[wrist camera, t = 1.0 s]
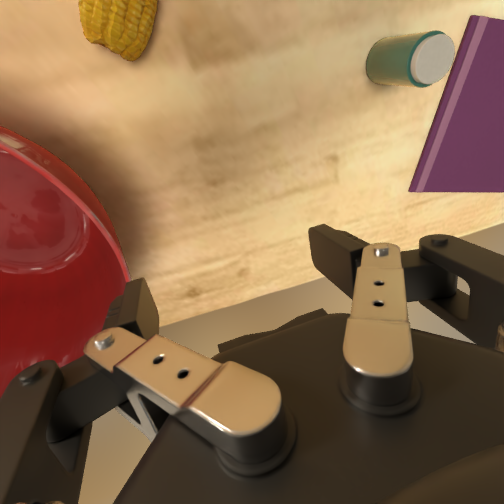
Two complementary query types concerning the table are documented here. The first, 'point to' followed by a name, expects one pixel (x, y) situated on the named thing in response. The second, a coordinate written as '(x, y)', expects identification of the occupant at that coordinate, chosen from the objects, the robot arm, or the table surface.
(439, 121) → the napkin
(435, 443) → the robot arm
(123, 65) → the table surface
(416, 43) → the salt shaker
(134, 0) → the food
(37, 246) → the mixing bowl
